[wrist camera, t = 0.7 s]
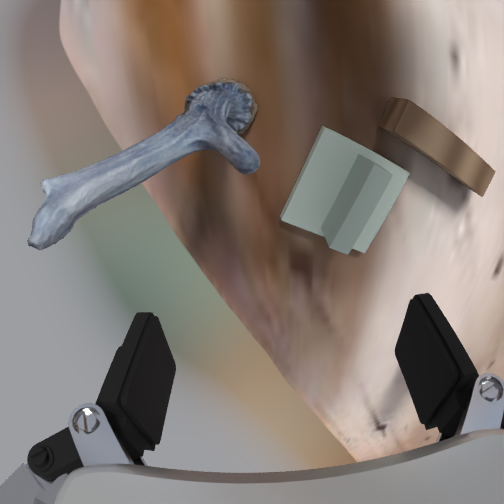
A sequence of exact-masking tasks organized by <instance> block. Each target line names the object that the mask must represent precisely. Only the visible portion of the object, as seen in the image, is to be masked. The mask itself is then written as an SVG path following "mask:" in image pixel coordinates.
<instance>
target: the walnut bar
mask: <svg viewBox="0 0 504 504" xmlns="http://www.w3.org/2000/svg"><path fill="white" fill-rule="evenodd" d="M377 126H379V127H381V128H382V129H384V130H386V131H387V132H389V133H390V134H392V135H394V136H395V137H397V138H398V139H400V140H402V141H403V142H405V143H406V144H408V145H409V146H411V147H412V148H414V149H415V150H417V151H418V152H420V153H421V154H423V155H424V156H425V157H427V158H428V159H430V160H431V161H433V162H434V163H435V164H437V165H438V166H439V167H441V168H442V169H443V170H445V171H446V172H447V173H449V174H450V175H451V176H453V177H454V178H455V179H457V180H458V181H459V182H460V183H462V184H463V185H464V186H466V187H468V188H469V189H471V190H472V191H474V192H475V193H477V194H478V195H480V196H481V197H483V195H484V194H485V192H486V190H487V188H488V186H489V184H490V182H491V180H492V178H493V176H494V174H495V171H494V170H493V169H492V168H491V167H490V166H489V165H488V164H487V163H486V162H485V161H484V160H483V159H482V158H481V157H480V156H479V155H478V154H477V153H476V152H474V151H473V150H472V149H471V148H470V147H469V146H468V145H467V144H465V143H464V142H463V141H462V140H461V139H460V138H458V137H457V136H456V135H455V134H454V133H452V132H451V131H450V130H449V129H448V128H446V127H445V126H444V125H443V124H441V123H440V122H439V121H437V120H436V119H435V118H434V117H432V116H431V115H430V114H428V113H427V112H426V111H424V110H423V109H421V108H420V107H419V106H417V105H416V104H414V103H413V102H412V101H410V100H407V99H399V98H390V100H389V102H388V105H387V107H386V109H385V111H384V113H383V115H382V117H381V119H380V121H379V123H378V125H377Z"/></svg>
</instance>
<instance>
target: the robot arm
mask: <svg viewBox="0 0 504 504" xmlns="http://www.w3.org/2000/svg"><path fill="white" fill-rule="evenodd" d="M395 356H396V358H397V361H398V363H399V366H400V368H401V371H402V374H403V376H404V379H405V381H406V384H407V387H408V389H409V392H410V395H411V397H412V400H413V403H414V406H415V409H416V411H417V414H418V417H419V420H420V422H421V424H424V425H425V428H426V430H428V429H431V428H435V427H438V430H439V435H438V437H437V439H436V442H435V443H434V444H430V445H427V446H424V447H420V448H417V449H413V450H410V451H406V452H402V453H399V454H395V455H391V456H386V457H382V458H378V459H373V460H368V461H363V462H358V463H352V464H347V465H340V466H334V467H326V468H319V469H310V470H300V471H287V472H268V473H220V472H200V471H187V470H176V469H166V468H158V467H151V466H147V464H146V462H145V461H144V459H143V458H142V456H143V453H144V450H151V451H154V449H155V445H156V444H159V443H160V440H161V436H162V431H163V426H164V421H165V416H166V411H167V407H168V403H169V398H170V394H171V389H172V385H173V380H174V376H175V371H176V365H175V361H174V359H173V356H172V354H171V351H170V348H169V346H168V343H167V340H166V338H165V335H164V332H163V330H162V327H161V324H160V321H159V319H158V317H157V316H154V315H153V313H150V312H146V313H144V312H143V313H142V312H141V313H136V315H135V317H134V319H133V321H132V324H131V326H130V328H129V330H128V333H127V335H126V338H125V340H124V342H123V344H122V346H120V347H119V348H118V350H117V351H116V354H115V356H114V359H113V361H112V363H111V366H110V368H109V371H108V373H107V376H106V378H105V381H104V383H103V386H102V388H101V391H100V393H99V396H98V399H97V401H96V404H92V403H86V404H83V405H80V406H78V407H77V408H75V409H74V410H73V412H72V413H71V415H70V417H69V422H68V424H69V427H67V428H65V429H63V430H61V431H60V432H58V433H56V434H55V435H52V436H51V437H49V438H47V439H45V440H43V441H41V442H39V443H37V444H36V445H34V446H33V447H32V448H31V450H30V451H29V454H28V459H27V461H28V463H27V464H26V465H25V464H24V463H23V464H22V465H21V466H20V467H19V468H18V469H17V470H16V471H15V472H14V473H13V474H12V475H11V476H10V477H9V478H8V479H7V480H6V481H5V482H4V483H3V484H2V485H1V486H0V504H504V382H503V380H502V379H501V378H500V377H499V376H497V375H495V374H492V373H484V374H482V375H480V376H479V375H478V373H477V370H476V368H475V366H474V365H473V363H472V361H471V359H470V357H469V356H468V354H467V352H466V350H465V349H464V347H463V345H462V344H461V342H460V340H459V339H458V337H457V335H456V334H455V332H454V330H453V329H452V327H451V325H450V324H449V322H448V321H447V319H446V317H445V316H444V314H443V313H442V311H441V310H440V308H439V307H438V305H437V304H436V302H435V300H434V299H433V297H432V296H431V295H430V294H429V293H425V294H418V295H415V296H414V297H413V299H411V300H410V302H409V305H408V309H407V312H406V315H405V319H404V322H403V325H402V328H401V332H400V335H399V338H398V341H397V344H396V347H395Z"/></svg>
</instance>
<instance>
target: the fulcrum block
mask: <svg viewBox="0 0 504 504" xmlns="http://www.w3.org/2000/svg"><path fill="white" fill-rule="evenodd" d="M409 175H410V173H409V172H407V171H406V170H404V169H403V168H401V167H399V166H398V165H396V164H394V163H393V162H391V161H389V160H387V159H386V158H384V157H382V156H380V155H379V154H377V153H375V152H373V151H371V150H370V149H368V148H366V147H364V146H362V145H360V144H358V143H356V142H354V141H353V140H351V139H349V138H347V137H345V136H343V135H341V134H339V133H337V132H335V131H333V130H331V129H328V128H326V127H324V126H322V127H321V129H320V132H319V134H318V136H317V138H316V140H315V142H314V144H313V147H312V149H311V151H310V153H309V155H308V157H307V159H306V162H305V164H304V166H303V168H302V170H301V172H300V174H299V177H298V179H297V181H296V183H295V185H294V187H293V189H292V191H291V194H290V196H289V198H288V200H287V202H286V204H285V206H284V208H283V210H282V213H281V215H280V217H281V220H282V221H284V222H287V223H289V224H292V225H295V226H297V227H300V228H302V229H305V230H307V231H310V232H313V233H315V234H318V235H320V236H323V237H325V239H326V241H327V243H328V246H329V248H331V249H334V250H336V251H339V252H341V253H344V254H346V255H348V254H349V252H350V251H351V249H355V250H357V251H360V252H362V253H365V252H366V250H367V248H368V247H369V245H370V244H371V242H372V240H373V239H374V237H375V235H376V234H377V232H378V230H379V229H380V227H381V225H382V223H383V222H384V220H385V218H386V216H387V215H388V213H389V211H390V209H391V208H392V206H393V204H394V202H395V201H396V199H397V197H398V195H399V193H400V191H401V190H402V188H403V186H404V184H405V182H406V180H407V178H408V176H409Z"/></svg>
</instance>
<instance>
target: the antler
mask: <svg viewBox="0 0 504 504" xmlns="http://www.w3.org/2000/svg"><path fill="white" fill-rule="evenodd" d="M250 92H251V91H250V89H248V88H247V87H246V85H244V83H241V82H236V81H234V80H233V79H225V80H224V79H218V80H217V81H213V82H210V83H208V84H207V85H203V86H200V87H198V88H195V91H194V92H192V93H191V94H190V95H189V96H187V98H186V101H185V111H184V113H182V114H180V115H178V116H177V117H176V119H175V120H174V121H173V122H171V123H170V124H169V125H168V126H166V127H164V128H163V129H162V130H161V131H160V132H158V133H156V134H154V135H152V136H150V137H148V138H146V139H144V140H142V141H141V142H139V143H137V144H135V145H133V146H131V147H129V148H127V149H125V150H124V151H122V152H120V153H118V154H115V155H113V156H110V157H108V158H107V159H105V160H103V161H100V162H98V163H95V164H93V165H91V166H88V167H85V168H83V169H81V170H79V171H76V172H72V173H69V174H62V175H61V176H59V177H56V178H50V179H45V180H43V181H42V182H41V187H42V189H43V192H44V193H45V194H46V199H45V201H44V203H43V204H42V206H41V207H40V208H39V209H38V211H37V213H36V215H35V217H34V218H33V225H32V232H31V235H30V237H29V238H28V245H29V246H32V247H34V248H37V249H38V250H43V249H45V248H47V247H49V246H51V245H53V244H56V243H57V242H58V241H59V240H61V239H63V238H64V237H65V236H66V235H67V234H68V233H69V232H70V231H71V229H72V228H73V226H74V223H75V222H76V220H78V219H79V218H80V217H82V216H83V215H85V214H86V213H87V212H89V211H90V210H92V209H94V208H95V207H97V206H98V205H99V204H101V203H103V202H106V201H107V200H109V199H111V198H113V197H115V196H117V195H119V194H122V193H124V192H125V191H127V190H129V189H130V188H133V187H135V186H137V185H138V184H140V183H142V182H144V181H145V180H147V179H148V178H150V177H152V176H153V175H155V174H156V173H158V172H159V171H161V170H163V169H164V168H166V167H167V166H169V165H171V164H173V163H174V162H176V161H178V160H180V159H181V158H183V157H185V156H187V155H189V154H191V153H193V152H196V151H200V150H215V151H217V152H219V153H221V155H222V156H223V157H225V158H226V159H227V160H228V161H229V162H230V163H231V164H232V165H233V166H234V167H235V168H236V169H237V170H238V171H239V172H240V173H243V174H251V173H254V172H255V171H256V170H257V169H258V168H259V164H260V159H259V155H258V154H257V153H256V151H255V150H254V149H253V148H252V147H251V146H250V145H249V144H248V143H247V142H246V141H245V140H244V139H243V138H241V137H240V136H239V135H238V134H244V131H245V130H247V129H248V128H249V126H250V124H251V123H252V120H254V116H255V113H256V111H257V108H258V106H257V105H258V104H257V103H256V102H255V100H254V99H253V95H252V94H251V93H250Z"/></svg>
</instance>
